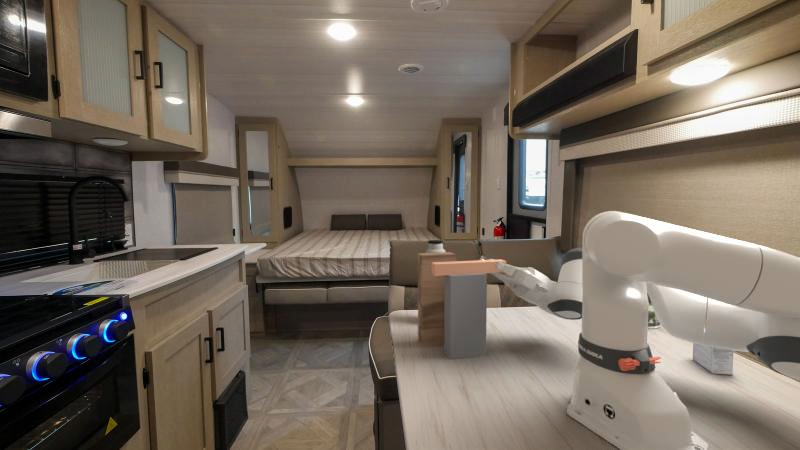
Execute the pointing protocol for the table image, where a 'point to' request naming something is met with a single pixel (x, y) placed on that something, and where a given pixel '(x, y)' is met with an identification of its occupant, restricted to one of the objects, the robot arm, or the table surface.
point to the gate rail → (465, 267)
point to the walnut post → (431, 299)
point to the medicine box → (713, 358)
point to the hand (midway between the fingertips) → (488, 261)
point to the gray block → (465, 315)
